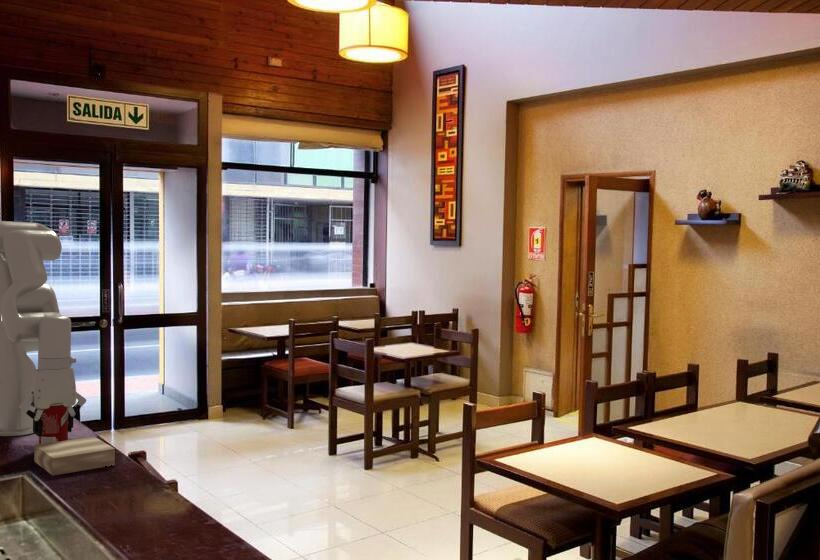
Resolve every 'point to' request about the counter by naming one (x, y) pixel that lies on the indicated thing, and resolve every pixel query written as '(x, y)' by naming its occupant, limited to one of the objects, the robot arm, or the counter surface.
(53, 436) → the soda can
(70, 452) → the birch block
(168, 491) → the counter surface
